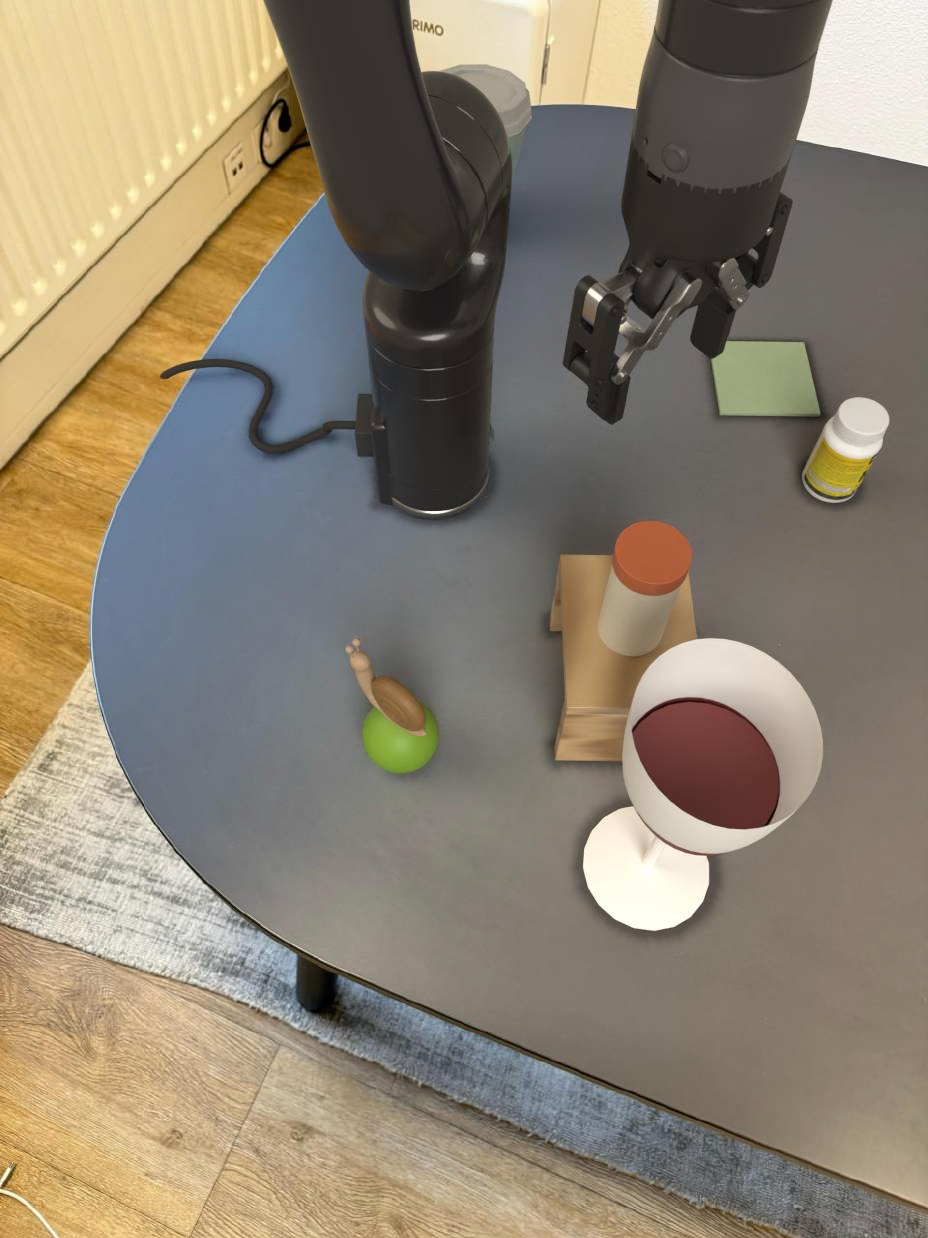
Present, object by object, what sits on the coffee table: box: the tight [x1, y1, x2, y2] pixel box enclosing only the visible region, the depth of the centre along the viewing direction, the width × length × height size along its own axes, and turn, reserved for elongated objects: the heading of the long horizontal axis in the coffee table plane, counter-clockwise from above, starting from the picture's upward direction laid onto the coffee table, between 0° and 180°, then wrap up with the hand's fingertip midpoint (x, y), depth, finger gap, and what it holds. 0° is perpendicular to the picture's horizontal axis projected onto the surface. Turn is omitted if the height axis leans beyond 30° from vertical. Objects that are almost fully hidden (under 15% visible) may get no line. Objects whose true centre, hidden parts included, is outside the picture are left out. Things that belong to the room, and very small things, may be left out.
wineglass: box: [582, 637, 824, 932], centre depth 57 cm, size 9×10×23 cm
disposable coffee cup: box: [439, 63, 533, 184], centre depth 94 cm, size 11×11×15 cm
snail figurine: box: [344, 637, 440, 774], centre depth 66 cm, size 5×6×12 cm
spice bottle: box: [598, 520, 693, 657], centre depth 62 cm, size 5×5×9 cm
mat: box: [710, 340, 821, 418], centre depth 89 cm, size 9×9×1 cm
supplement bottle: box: [801, 396, 890, 504], centre depth 80 cm, size 5×5×8 cm
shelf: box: [549, 554, 698, 762], centre depth 69 cm, size 9×12×9 cm
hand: (655, 381), depth 59 cm, fingers open, 8 cm apart
